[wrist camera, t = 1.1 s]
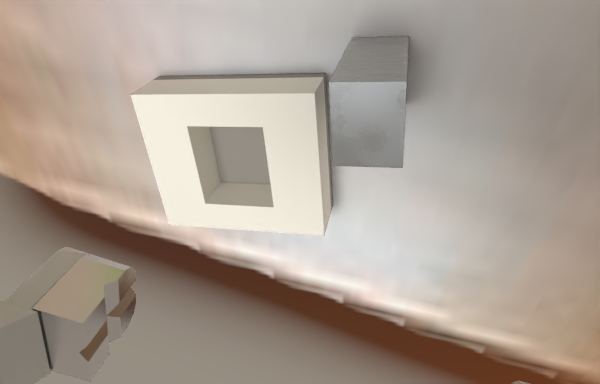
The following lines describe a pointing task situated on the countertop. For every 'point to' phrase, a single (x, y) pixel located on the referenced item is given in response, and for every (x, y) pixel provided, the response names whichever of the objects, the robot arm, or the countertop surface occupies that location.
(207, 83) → the well block
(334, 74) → the grey brushed prism
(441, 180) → the countertop surface
